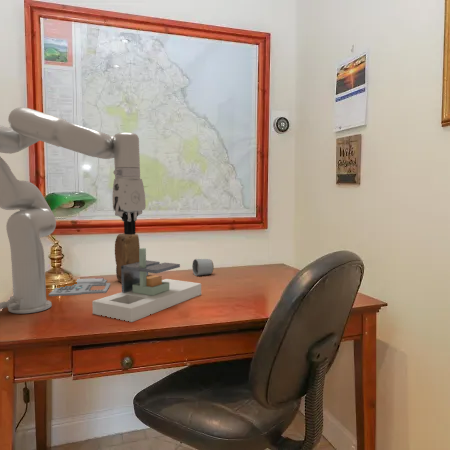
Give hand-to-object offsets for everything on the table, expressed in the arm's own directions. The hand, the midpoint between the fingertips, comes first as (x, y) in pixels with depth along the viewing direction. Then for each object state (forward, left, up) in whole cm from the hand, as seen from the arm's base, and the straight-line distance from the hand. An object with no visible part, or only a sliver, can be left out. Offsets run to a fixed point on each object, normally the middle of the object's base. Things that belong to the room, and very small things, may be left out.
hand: (129, 234), depth 127 cm
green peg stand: (+10, 0, -20) cm, 22 cm away
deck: (+10, 0, -24) cm, 26 cm away
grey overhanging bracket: (+10, 0, -20) cm, 23 cm away
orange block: (+10, 0, -20) cm, 23 cm away
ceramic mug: (+57, +12, -25) cm, 63 cm away
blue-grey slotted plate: (+14, +38, -25) cm, 48 cm away
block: (+30, +30, -25) cm, 49 cm away
